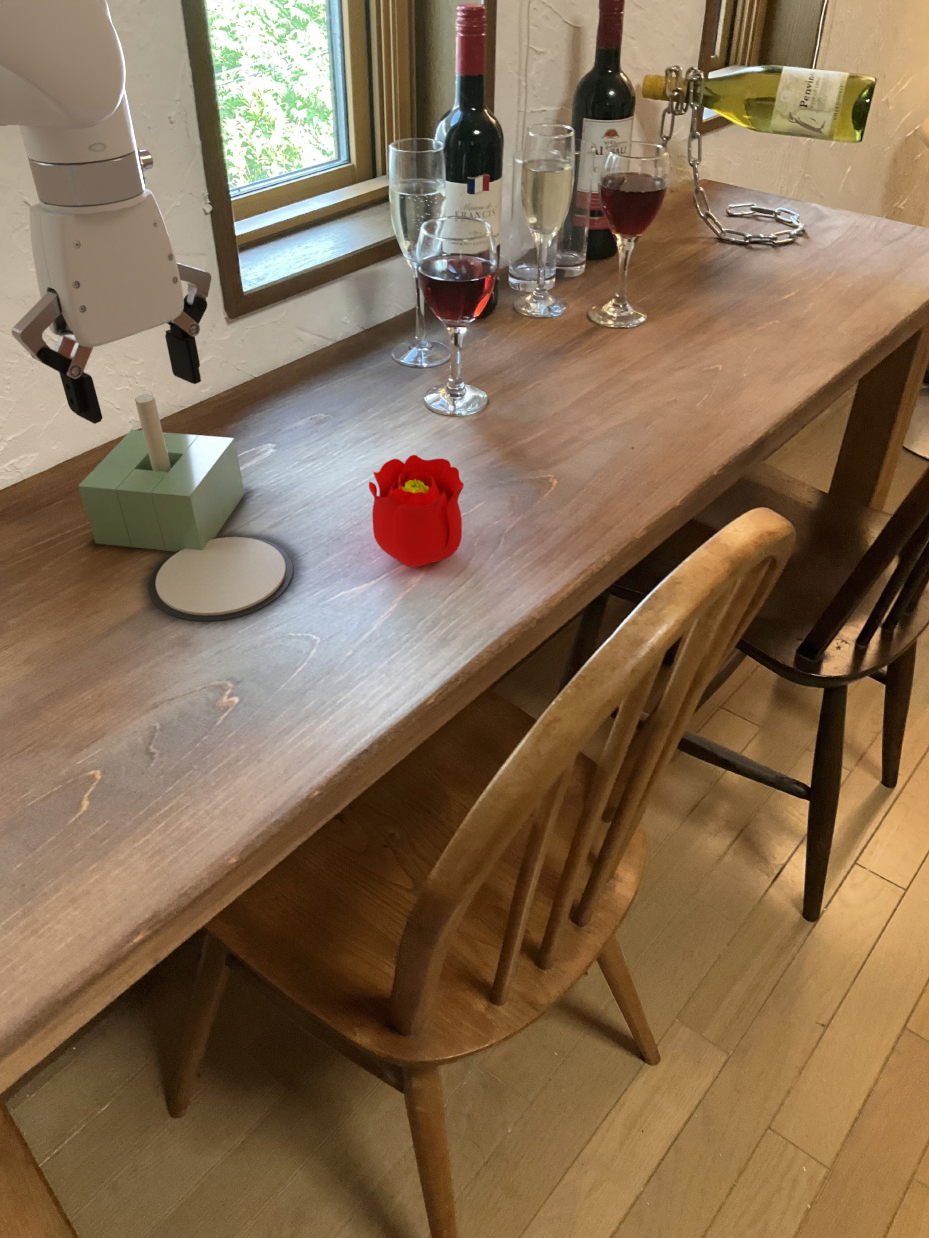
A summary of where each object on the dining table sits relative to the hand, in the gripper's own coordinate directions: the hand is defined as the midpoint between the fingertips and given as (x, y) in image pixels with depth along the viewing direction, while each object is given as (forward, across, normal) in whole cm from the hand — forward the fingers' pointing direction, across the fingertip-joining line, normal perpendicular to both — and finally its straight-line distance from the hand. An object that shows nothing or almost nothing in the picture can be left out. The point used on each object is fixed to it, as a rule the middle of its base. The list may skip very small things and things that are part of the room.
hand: (139, 397), depth 81 cm
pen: (+12, -1, 0) cm, 12 cm away
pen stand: (+12, -1, 0) cm, 12 cm away
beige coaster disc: (+12, +2, +11) cm, 16 cm away
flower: (+12, -11, +22) cm, 27 cm away
